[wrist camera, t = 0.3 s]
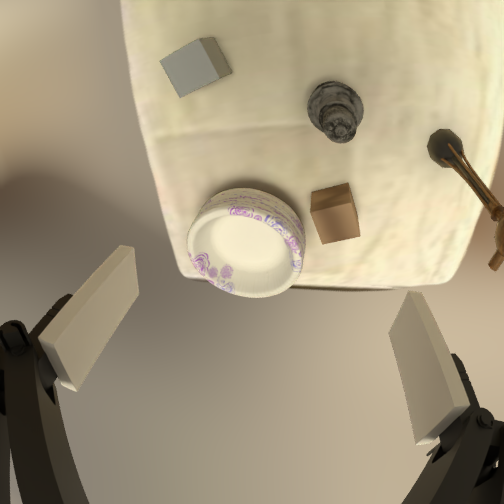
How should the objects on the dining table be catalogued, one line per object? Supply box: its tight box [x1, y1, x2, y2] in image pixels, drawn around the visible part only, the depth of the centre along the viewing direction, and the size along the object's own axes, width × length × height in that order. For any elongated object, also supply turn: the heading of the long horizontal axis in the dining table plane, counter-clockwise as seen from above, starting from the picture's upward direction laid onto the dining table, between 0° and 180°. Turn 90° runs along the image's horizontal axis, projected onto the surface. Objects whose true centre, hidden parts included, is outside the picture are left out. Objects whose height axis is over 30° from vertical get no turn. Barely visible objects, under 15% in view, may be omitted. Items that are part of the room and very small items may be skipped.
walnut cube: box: [310, 183, 360, 244], centre depth 37 cm, size 5×5×5 cm
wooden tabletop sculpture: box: [427, 129, 504, 271], centre depth 23 cm, size 6×5×20 cm
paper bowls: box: [187, 188, 305, 298], centre depth 41 cm, size 15×15×8 cm
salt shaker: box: [308, 81, 364, 143], centre depth 26 cm, size 6×6×12 cm
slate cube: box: [160, 38, 232, 98], centre depth 28 cm, size 5×5×5 cm
